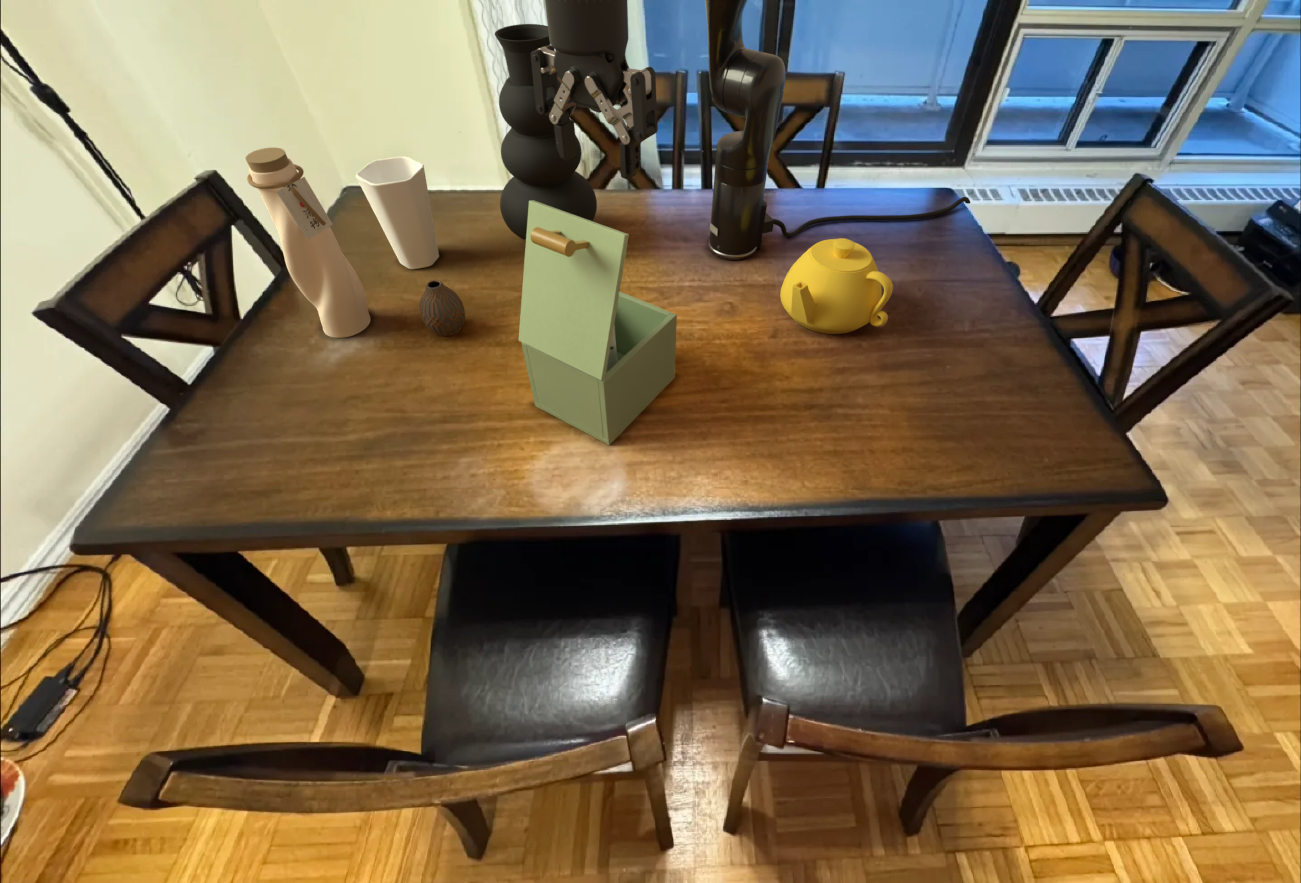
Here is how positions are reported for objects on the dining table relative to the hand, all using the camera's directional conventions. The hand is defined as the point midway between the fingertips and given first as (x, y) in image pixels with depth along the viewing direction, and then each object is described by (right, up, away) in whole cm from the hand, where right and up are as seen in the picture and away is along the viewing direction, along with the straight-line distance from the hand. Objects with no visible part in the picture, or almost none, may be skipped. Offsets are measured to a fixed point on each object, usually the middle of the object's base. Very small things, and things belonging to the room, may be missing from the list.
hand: (598, 166), depth 65 cm
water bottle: (-45, -11, +35) cm, 58 cm away
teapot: (+36, -9, +36) cm, 51 cm away
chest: (-1, -23, +24) cm, 33 cm away
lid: (-4, -13, +6) cm, 14 cm away
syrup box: (-2, -24, +22) cm, 32 cm away
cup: (-39, +5, +48) cm, 62 cm away
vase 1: (-28, -12, +34) cm, 46 cm away
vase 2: (-14, +10, +53) cm, 56 cm away
